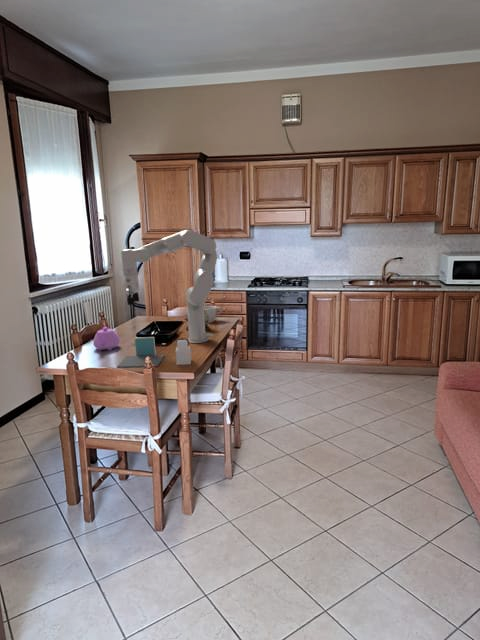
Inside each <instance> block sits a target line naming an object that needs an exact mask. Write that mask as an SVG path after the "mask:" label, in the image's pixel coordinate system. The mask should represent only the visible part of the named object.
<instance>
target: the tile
mask: <svg viewBox="0 0 480 640" xmlns="http://www.w3.org/2000/svg"><path fill="white" fill-rule="evenodd" d="M134 344H135V354H136V355H135V356H140V355H157V353H156V352H157V351H156V343H155V336H147V337H146V336H144V337H142V336H141V337H140V336H139V337H137V336H136V337H134Z"/></svg>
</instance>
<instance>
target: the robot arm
mask: <svg viewBox="0 0 480 640" xmlns="http://www.w3.org/2000/svg"><path fill="white" fill-rule="evenodd" d="M186 247H190V248H192V249H195V250H197V251H199V252H201V260H200V263H199V265H198V267H197V270H196V271H195V274H194V277H193V280H194V282H195V283H194V285H193V286H191V287H189V288H188V289H187V291H186V293H185V301H186V309H187V312H188V322H187V324H188V325H187V327H188V328H189V331H188V337H187V338H186V339H188V340H189V343H190V344H200V343H205V342H208V341H209V338H214V334H212V333H207V332H206V331H205V321H204V306H205V305H204V304H205V302H206V301H207V300H208V297H209V295H210V293H211V291H212V287H213V285H214V280H215V279H214V275H213V272H214V270H215V268H216V265H217V264H216V263H217V259H218V255H217V250H216V249H217V242H216V241H215V239H213V238H211V237H208V236H206V235H203V234H202V233H198V232H197V231H194V230H192V229H183V230H181V231H178V232H175V233H174V234H171V235H168V236H166V237H163V238H161V239H159V240H156V241H153V242H151V243H149V244H146V245H143V246H141V247H139V248H137V249H135V248H126V249H122V250H121V253H120V255H121V264H122V270H123V271H122V273H123V276H124V282H125V293H126V299H127V301H126V302H127V305H128V306H133V305H135V302H139V301H140V297H139V292H140V284H139V283H140V282H139V277H138V275H139V274H138V273H139V272H138V265H137V263H146V262H148V261H149V260H150V259H151V258H154V257H156V256H159V255H165V254H170V253H172V252H176V251H178V250H181V249H183V248H186Z"/></svg>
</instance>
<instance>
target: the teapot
mask: <svg viewBox="0 0 480 640" xmlns="http://www.w3.org/2000/svg"><path fill="white" fill-rule="evenodd" d="M119 344H120V338H119V335H118V334H117V332H116V331H115V329H113V328H108V327H107V326H105V327H102V329H100V330H98V331H97V332H96V333H95V335H94V339H93V347H95V348H96V349H97V350H98V351H99V352H101V351H103V350H107V351H109V352H111V351H113V349H114V348H117V347H118V346H119Z"/></svg>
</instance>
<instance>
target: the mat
mask: <svg viewBox="0 0 480 640" xmlns="http://www.w3.org/2000/svg"><path fill="white" fill-rule="evenodd" d="M147 356H149V357H151V361H152V364H153V365H155V366H157V367H159V365H160V364H161V362H162V361H163V359H164V357H165V354H156V355H140V356H136V355H126V356H125V357H124V358H123V359H122V361H121V362H119V363H118V365H117V366H116V368H120V367H124V368H145V367H144V365H145V358H146V357H147Z"/></svg>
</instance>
